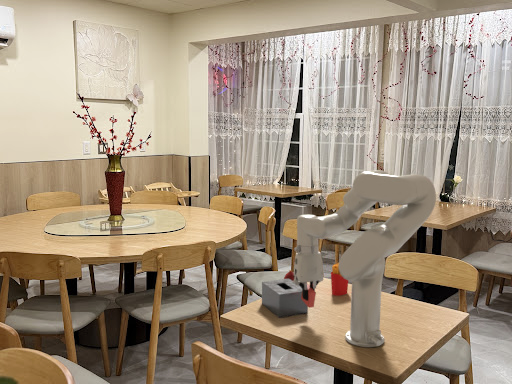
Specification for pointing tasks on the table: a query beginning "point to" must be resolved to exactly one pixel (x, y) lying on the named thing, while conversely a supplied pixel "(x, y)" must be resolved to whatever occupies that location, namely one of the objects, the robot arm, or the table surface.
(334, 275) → the french fries
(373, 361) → the table surface
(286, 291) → the grey slotted box
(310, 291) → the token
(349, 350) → the table surface
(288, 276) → the onion
